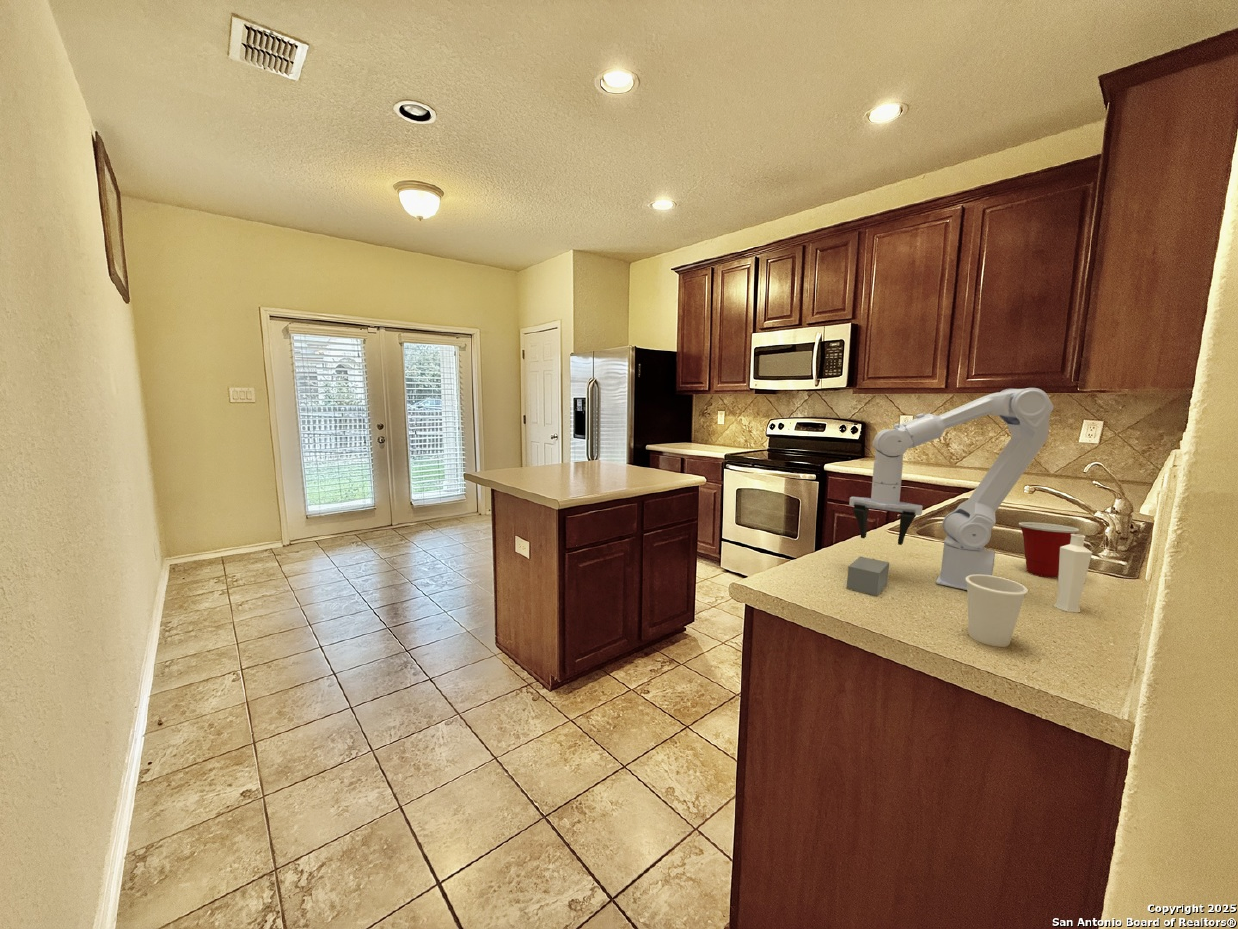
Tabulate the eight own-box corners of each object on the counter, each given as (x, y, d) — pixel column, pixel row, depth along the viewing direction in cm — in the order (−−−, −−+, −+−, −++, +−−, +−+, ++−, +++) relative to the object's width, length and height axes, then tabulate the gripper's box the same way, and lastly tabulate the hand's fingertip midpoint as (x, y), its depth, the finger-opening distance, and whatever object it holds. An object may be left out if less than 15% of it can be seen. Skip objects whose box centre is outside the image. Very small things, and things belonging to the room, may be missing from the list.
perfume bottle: (1077, 615, 93) (1089, 540, 91) (1048, 606, 97) (1059, 534, 95) (1087, 611, 95) (1099, 537, 93) (1059, 602, 99) (1070, 531, 97)
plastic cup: (1048, 566, 121) (1055, 519, 119) (1085, 583, 110) (1093, 531, 109) (1001, 564, 122) (1007, 518, 120) (1033, 580, 111) (1040, 529, 110)
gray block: (887, 584, 108) (889, 562, 107) (877, 596, 101) (879, 573, 100) (858, 577, 112) (860, 556, 111) (846, 588, 105) (848, 566, 104)
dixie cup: (1033, 648, 81) (1041, 590, 79) (991, 653, 79) (999, 594, 77) (985, 625, 89) (992, 572, 87) (947, 629, 87) (953, 575, 86)
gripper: (847, 480, 112) (843, 538, 114) (921, 488, 103) (914, 551, 104) (855, 477, 117) (851, 532, 119) (926, 484, 108) (920, 543, 110)
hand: (881, 540), depth 112 cm, fingers open, 7 cm apart
